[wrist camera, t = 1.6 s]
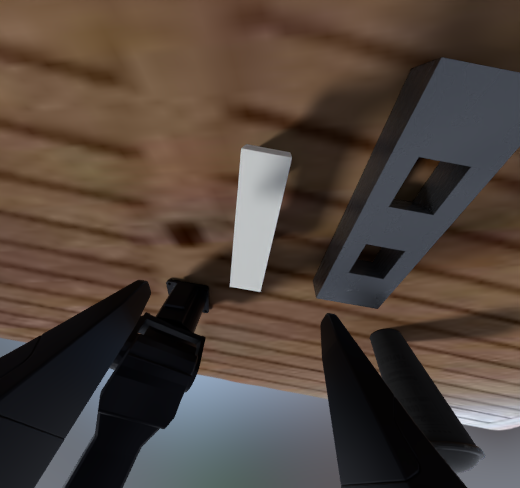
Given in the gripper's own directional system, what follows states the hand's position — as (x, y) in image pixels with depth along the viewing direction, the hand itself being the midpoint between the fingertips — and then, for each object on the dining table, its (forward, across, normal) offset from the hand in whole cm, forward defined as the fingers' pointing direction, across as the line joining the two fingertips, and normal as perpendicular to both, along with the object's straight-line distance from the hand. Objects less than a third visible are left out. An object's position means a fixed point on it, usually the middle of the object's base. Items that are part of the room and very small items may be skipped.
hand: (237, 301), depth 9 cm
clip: (+13, 0, 0) cm, 13 cm away
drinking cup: (+13, -25, +20) cm, 35 cm away
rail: (+13, -13, -1) cm, 18 cm away
